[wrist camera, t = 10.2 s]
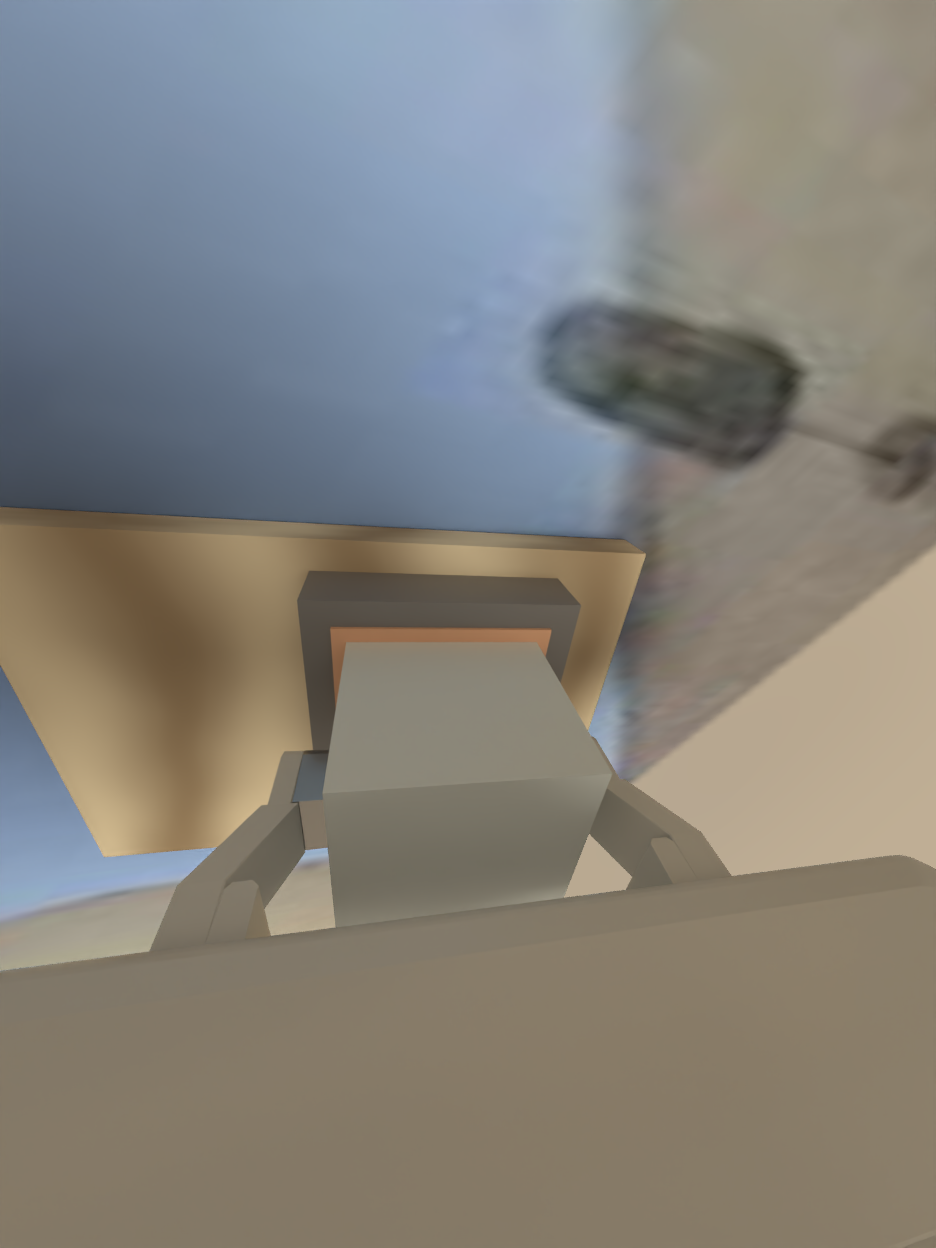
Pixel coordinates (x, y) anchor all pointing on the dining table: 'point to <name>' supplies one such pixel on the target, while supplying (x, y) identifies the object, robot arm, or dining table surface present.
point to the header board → (257, 644)
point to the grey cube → (454, 780)
